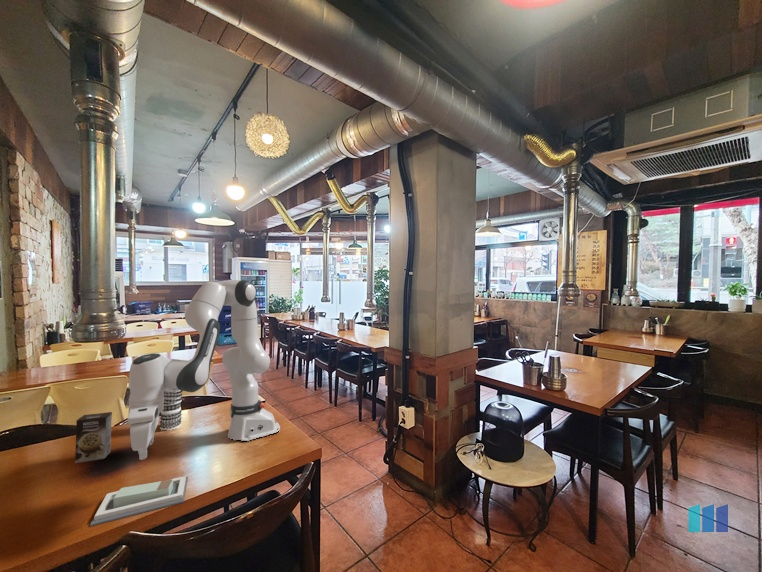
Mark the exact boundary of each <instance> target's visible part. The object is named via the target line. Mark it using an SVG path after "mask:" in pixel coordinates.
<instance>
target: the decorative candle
mask: <svg viewBox="0 0 762 572" xmlns="http://www.w3.org/2000/svg"><path fill="white" fill-rule="evenodd" d="M163 392H164V410H163V411H162V412H160V413H159V423H160V424H159V427H160V428H159V429H161V430H160V431H162V430H169V431H173V430H172V429H174V430H176V429H178V427H179V426H180V425H181V426H182V412H183V411H182V407H181V404H182V403H181V402H182V400H183V399H182V398H183V397H181V396H183V391H182V390H176V389H169V388H167V389H165V390H164V391H163ZM181 426H180V427H181ZM180 427H179V428H180ZM175 428H176V429H175Z"/></svg>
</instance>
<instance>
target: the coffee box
mask: <svg viewBox="0 0 762 572" xmlns="http://www.w3.org/2000/svg"><path fill="white" fill-rule="evenodd" d="M112 416H113V411H110V412H98V413H92V414H83V415H82V416H80V417H78V419H76V422H75V423H76V424H75V425H76V426H75V429H76V430H75V454H74V464H78V463H85V462H92V461H98V460H104V459H105V458H107V456H108V455H109V454H110V453H111V447H112V446H111V445H112V418H113V417H112Z"/></svg>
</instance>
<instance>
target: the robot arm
mask: <svg viewBox="0 0 762 572" xmlns="http://www.w3.org/2000/svg"><path fill="white" fill-rule="evenodd" d="M256 297H257V287H256V286H255V284H254V283H253V282H252V281H249V280H246V279H241V280H240V279H225V280H214V281H207V282H205V283H203V284H202V285H201V286H200V287H199V289H198V290H197V292H196V293H195V294H194V295H193V297H192V299H191V300H190V302H189V304H188V305H187V307H186V310H185V313H184V320H185V322H186V323H187V325H188V326H189V327H190V328H192V329H193V330H195V331H197V332H198V333H199V341H198V343H197V346H196V349H195V352H194V355H193V357H192V358H191V359H189V360H188V359H187V360H186V359H176V358H175V359H174V358H169V357H165V356H162V355H161V354H160V353H157V352H156V353H153V352H152V353H147V354H142V355H140V356H138V357H136V358H134V360H132V362H131V365H130V366H129V367H130V368H129V374H128V388H129V391H130V396H129V398H128V415H127V417H126V418H127V421H126V422H127V425H129V434H130V435H129V438H130V439H129V440H130V446H131V449H132V451H133V452H136V451H137V453H138V455H139V457H138V459H139V460H140V461H142V460H145V459H147V457H148V453H149V452H148V447H149V446H151V445H153V444H154V436H155V432H156V430H157V426H158V425H159V423H160V414H161V412H162V411H163V410H164V392H163V391H164V390H165V389H167V388H169V389H176V390H182V392H185V393H186V392H187V393H195V392H197V391H199V390H201V389H202V388H203V387H204V386H205V385H206V384H207V382H208V381H209V377H210V372H211V371H210V370H211V365H212V360H213V357H214V353H215V350H216V347H217V344H218V339H219V335H220V331H221V324H220V322H219V316H220V313H221V311H222V309H223V306H226V307H227V306H229V307H231V310H230V312H231V313H230V319H231V320H230V323H231V325H230V326H231V337H232V339H233V340H234V342H235V343H236V345H237V346H235V347H230V348H228V349H226V350H225V351H224V353H223V354H222V357H221V362H222V365H223V366H224V367H225V368H226V371H227V373H228V377H229V380H230V386H231V404H230V413H229V414H230V423H229V428H228V432H227V439H229V438H230V439H229V440H231V439H233V440H232V441H236V440H241V441H249V440H252V439H256V438H259V437H263V436H266V435H269V434H273V433H276V432H278V431H279V430H280V431H281V425H280V424H279V422H278V421H276V419H275V416H274V414H273V413H272V412H271V411H268V409H266V408H265V403H264V402H263V401H262V400H261V399H259V384H258V381H257V380H256V379H255V377H254V375H261V374H263V373H265V372H266V371H268V369H269V368H270V364H271V357H270V355H269V354H268V353H267V352H266V351H265V349H264V347H263V344H262V342H261V340H260V335H259V325H258V308H257V305H256ZM275 422H276V423H275ZM277 429H278V430H277ZM280 431H279V432H280ZM263 438H264V437H263ZM256 440H257V439H256ZM241 441H240V442H241ZM252 441H253V440H252ZM249 442H250V441H249Z"/></svg>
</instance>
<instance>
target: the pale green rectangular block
mask: <svg viewBox="0 0 762 572" xmlns="http://www.w3.org/2000/svg"><path fill="white" fill-rule="evenodd" d="M173 479H174V478H171V480H170V479H167V480H165V479H164V480H160V481H155V482H154V481H153V482H150V483H143V484H137V485H136V484H135V485H131V486H125V487H120V489H119V490H118V491H119V492H118V493H117V494H116V496H115V497H114V508H118V507H123V506H127V505H131V504H135V503H139V502H143V501H147V500H152V499H156V498H160V497H164V496H168V495H170V494H171V492H172V490H173Z"/></svg>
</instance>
